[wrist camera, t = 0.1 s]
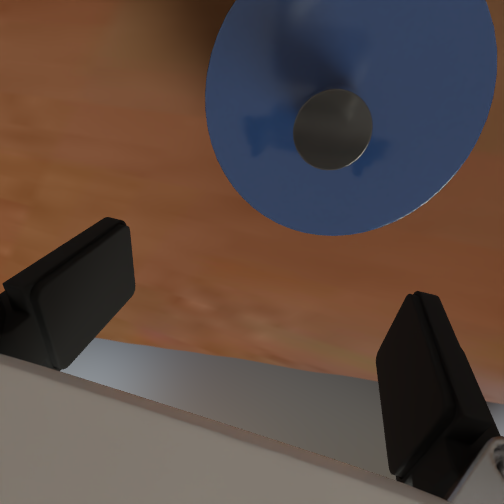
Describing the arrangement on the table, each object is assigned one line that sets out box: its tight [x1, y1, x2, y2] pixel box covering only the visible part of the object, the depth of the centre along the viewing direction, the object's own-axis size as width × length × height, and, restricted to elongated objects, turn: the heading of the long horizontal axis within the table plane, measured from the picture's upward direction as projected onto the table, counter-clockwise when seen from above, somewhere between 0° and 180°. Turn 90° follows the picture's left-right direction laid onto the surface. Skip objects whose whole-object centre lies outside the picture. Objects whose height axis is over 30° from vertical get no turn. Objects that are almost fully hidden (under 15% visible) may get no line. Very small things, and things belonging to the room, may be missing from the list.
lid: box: [205, 0, 497, 236], centre depth 15 cm, size 15×15×7 cm
